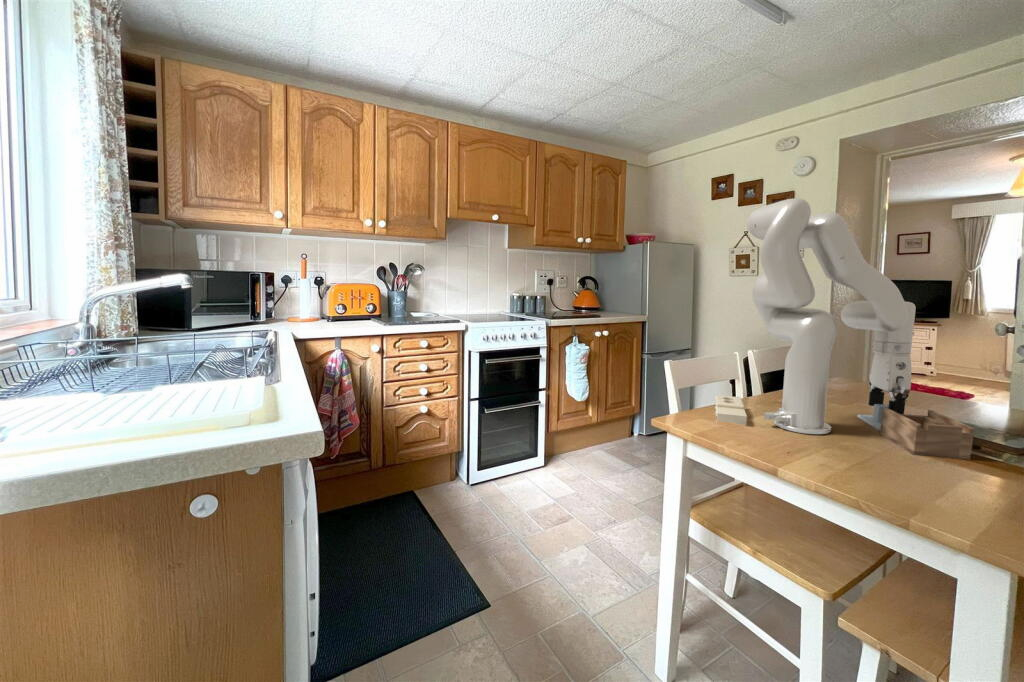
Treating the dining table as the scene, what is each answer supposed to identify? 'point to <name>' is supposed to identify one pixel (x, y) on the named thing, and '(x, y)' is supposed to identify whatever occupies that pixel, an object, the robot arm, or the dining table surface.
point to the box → (928, 434)
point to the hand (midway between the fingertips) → (885, 410)
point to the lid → (874, 416)
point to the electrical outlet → (730, 409)
